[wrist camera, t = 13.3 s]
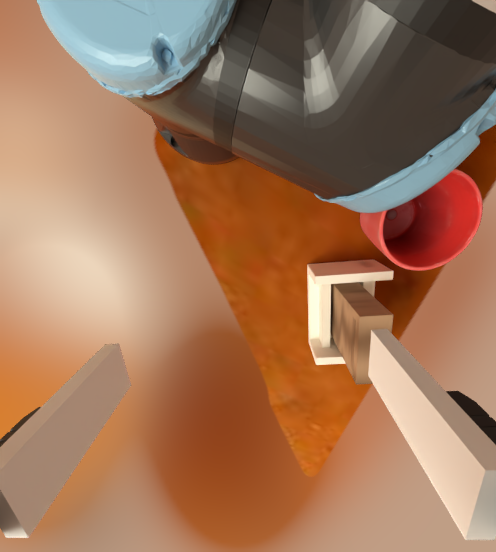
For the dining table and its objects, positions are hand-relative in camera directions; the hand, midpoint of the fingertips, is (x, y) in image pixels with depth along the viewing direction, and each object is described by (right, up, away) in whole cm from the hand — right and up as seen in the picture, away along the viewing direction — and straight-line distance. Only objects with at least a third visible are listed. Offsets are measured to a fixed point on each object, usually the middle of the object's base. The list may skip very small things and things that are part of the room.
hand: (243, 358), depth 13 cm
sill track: (+15, 0, +27) cm, 31 cm away
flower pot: (+20, +13, +23) cm, 33 cm away
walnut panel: (+15, 0, +26) cm, 30 cm away
